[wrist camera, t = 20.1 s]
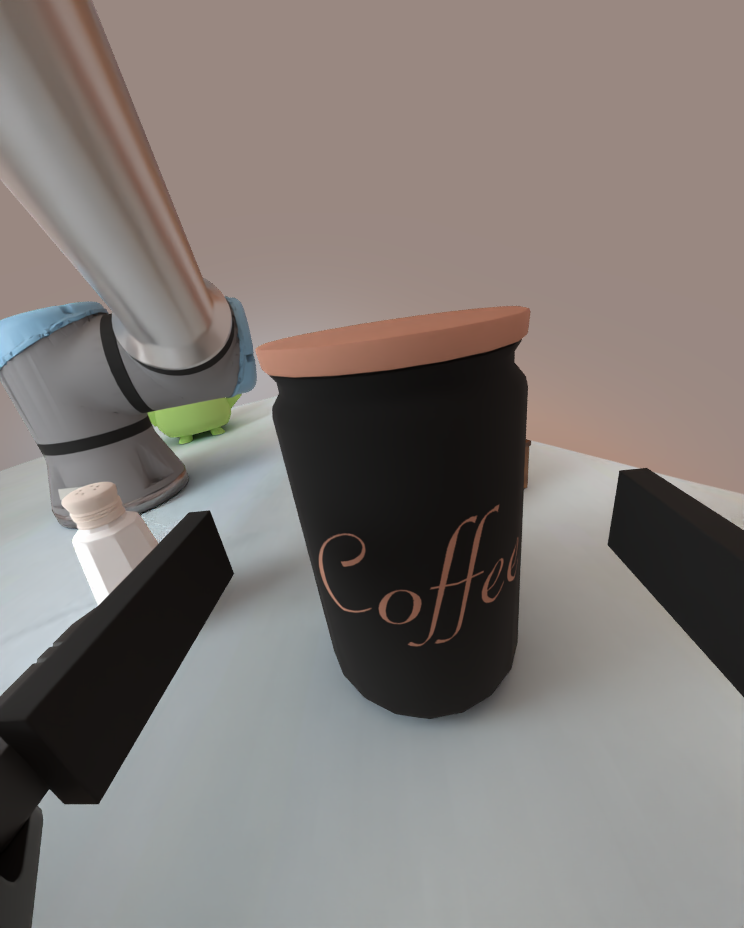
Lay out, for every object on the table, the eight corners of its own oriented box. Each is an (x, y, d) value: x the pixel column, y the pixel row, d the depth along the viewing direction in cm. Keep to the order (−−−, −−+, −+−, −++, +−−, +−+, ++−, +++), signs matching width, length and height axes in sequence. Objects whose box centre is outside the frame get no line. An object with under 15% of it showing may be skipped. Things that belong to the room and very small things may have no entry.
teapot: (144, 457, 63) (113, 387, 58) (147, 439, 74) (122, 379, 69) (255, 427, 71) (237, 364, 66) (243, 415, 82) (227, 360, 77)
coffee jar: (322, 735, 17) (198, 363, 10) (348, 580, 27) (294, 333, 20) (547, 731, 16) (593, 306, 9) (490, 570, 26) (489, 304, 19)
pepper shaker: (180, 583, 30) (124, 464, 25) (207, 612, 26) (148, 480, 22) (105, 627, 26) (26, 498, 22) (125, 668, 23) (35, 524, 18)
